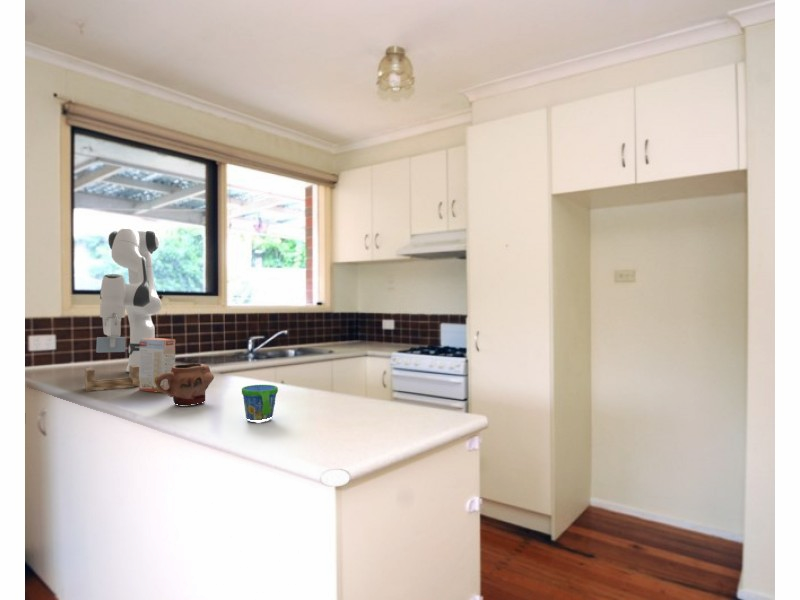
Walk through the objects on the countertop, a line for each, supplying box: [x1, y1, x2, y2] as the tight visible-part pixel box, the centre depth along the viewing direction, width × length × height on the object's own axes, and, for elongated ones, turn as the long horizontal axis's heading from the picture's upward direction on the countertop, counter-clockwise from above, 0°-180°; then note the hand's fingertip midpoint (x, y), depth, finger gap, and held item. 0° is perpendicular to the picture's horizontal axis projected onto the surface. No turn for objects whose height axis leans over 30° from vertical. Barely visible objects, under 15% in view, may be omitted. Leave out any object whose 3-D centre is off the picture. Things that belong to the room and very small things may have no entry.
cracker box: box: [138, 337, 176, 393], centre depth 193 cm, size 14×6×21 cm, turn 65°
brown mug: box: [156, 363, 215, 405], centre depth 168 cm, size 20×12×14 cm, turn 146°
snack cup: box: [241, 384, 279, 420], centre depth 147 cm, size 16×11×10 cm
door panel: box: [95, 336, 127, 354], centre depth 199 cm, size 10×2×6 cm, turn 128°
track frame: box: [84, 365, 139, 392], centre depth 199 cm, size 18×8×8 cm, turn 128°
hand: (111, 346), depth 199 cm, fingers closed on door panel, 2 cm apart
